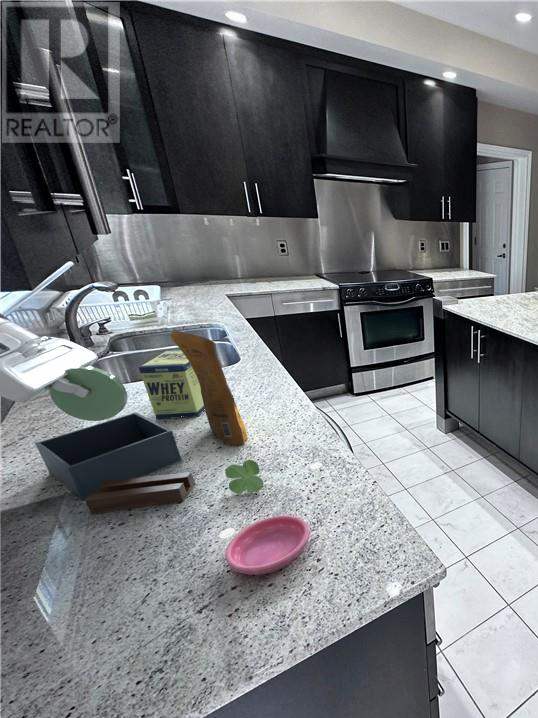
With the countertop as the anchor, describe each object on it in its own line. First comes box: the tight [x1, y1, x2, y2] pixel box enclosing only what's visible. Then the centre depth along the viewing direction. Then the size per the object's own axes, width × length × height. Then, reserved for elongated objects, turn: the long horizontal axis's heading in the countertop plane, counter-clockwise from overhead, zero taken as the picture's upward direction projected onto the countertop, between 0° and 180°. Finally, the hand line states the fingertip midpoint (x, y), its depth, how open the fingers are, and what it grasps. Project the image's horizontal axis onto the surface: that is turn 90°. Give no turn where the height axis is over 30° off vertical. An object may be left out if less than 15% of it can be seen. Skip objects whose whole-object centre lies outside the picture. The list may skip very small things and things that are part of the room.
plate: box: [48, 366, 128, 422], centre depth 84 cm, size 1×12×12 cm, turn 106°
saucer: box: [225, 514, 310, 576], centre depth 70 cm, size 12×12×3 cm
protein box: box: [138, 348, 205, 420], centre depth 116 cm, size 10×16×16 cm
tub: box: [34, 411, 182, 502], centre depth 90 cm, size 17×17×8 cm
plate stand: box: [84, 471, 196, 515], centre depth 81 cm, size 6×15×3 cm, turn 106°
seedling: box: [224, 459, 264, 495], centre depth 88 cm, size 7×8×7 cm
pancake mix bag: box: [169, 329, 248, 446], centre depth 100 cm, size 7×19×28 cm, turn 54°
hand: (92, 391), depth 84 cm, fingers closed on plate, 1 cm apart
